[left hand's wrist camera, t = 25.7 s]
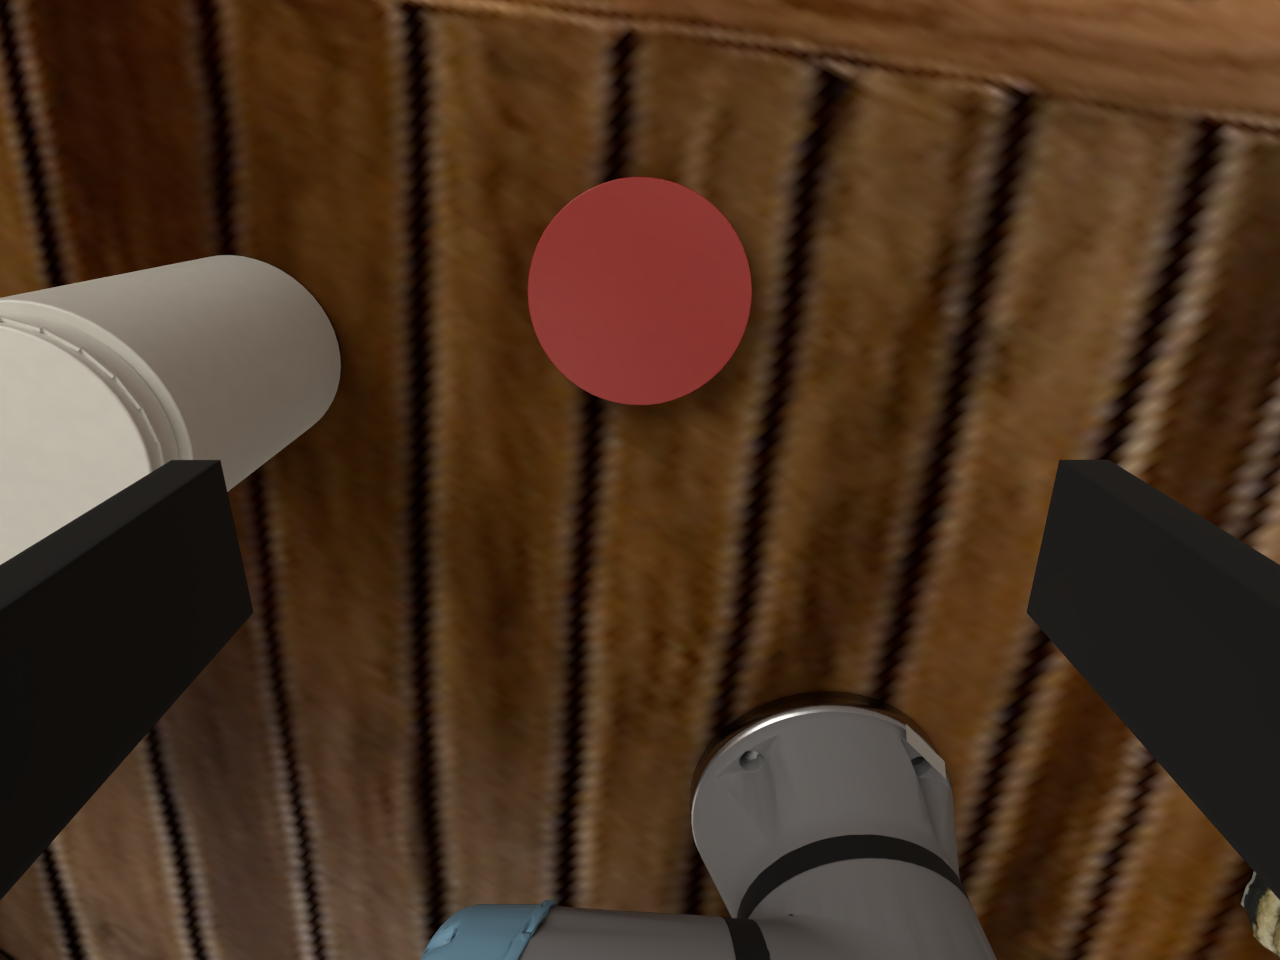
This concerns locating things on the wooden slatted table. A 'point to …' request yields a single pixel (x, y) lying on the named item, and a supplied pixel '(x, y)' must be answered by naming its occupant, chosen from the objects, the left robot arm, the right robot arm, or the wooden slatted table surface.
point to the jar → (152, 383)
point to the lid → (639, 291)
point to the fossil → (1263, 913)
